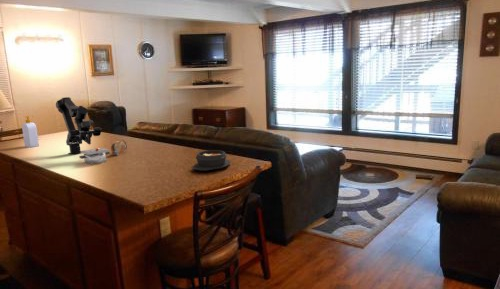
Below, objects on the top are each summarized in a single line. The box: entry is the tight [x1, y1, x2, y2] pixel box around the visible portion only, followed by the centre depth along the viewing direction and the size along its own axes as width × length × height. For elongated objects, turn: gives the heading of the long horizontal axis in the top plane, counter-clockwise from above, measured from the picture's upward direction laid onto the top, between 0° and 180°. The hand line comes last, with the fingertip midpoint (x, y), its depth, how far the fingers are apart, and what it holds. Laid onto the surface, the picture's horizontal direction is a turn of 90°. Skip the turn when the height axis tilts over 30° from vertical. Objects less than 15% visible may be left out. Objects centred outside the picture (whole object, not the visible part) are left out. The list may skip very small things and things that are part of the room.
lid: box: [80, 147, 110, 155], centre depth 225 cm, size 13×12×3 cm
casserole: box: [191, 149, 232, 172], centre depth 205 cm, size 25×19×8 cm
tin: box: [110, 139, 128, 156], centre depth 247 cm, size 15×3×8 cm, turn 168°
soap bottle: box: [21, 115, 40, 148], centre depth 280 cm, size 9×7×23 cm
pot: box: [79, 151, 110, 165], centre depth 226 cm, size 12×17×5 cm
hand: (89, 144), depth 229 cm, fingers closed
